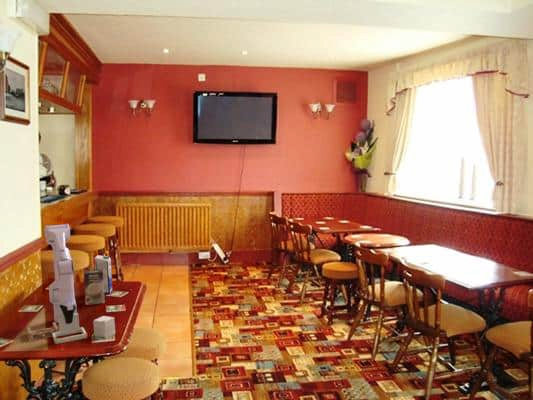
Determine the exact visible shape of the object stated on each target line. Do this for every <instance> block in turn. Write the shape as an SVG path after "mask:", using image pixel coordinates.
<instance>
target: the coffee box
mask: <svg viewBox="0 0 533 400" xmlns="http://www.w3.org/2000/svg"><path fill="white" fill-rule="evenodd" d="M83 272H84V274H83V275H84V297H85V299H84V301H85V302H84V303H85V304H84V305H86V306H87V305H89V306H90V305H97V304H98V305H101V304H105V294H104V282H103V269H101V270H95V269H92V270H91V269H90V270H84V271H83ZM100 303H101V304H100Z"/></svg>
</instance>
